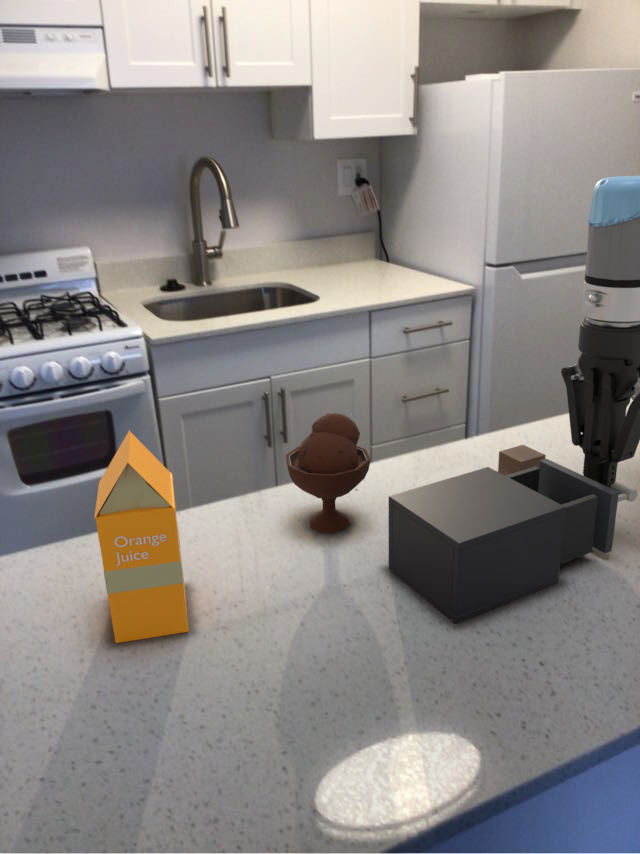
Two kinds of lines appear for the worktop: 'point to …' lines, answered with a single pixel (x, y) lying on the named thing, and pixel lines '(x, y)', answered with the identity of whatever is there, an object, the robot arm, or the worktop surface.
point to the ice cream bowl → (329, 467)
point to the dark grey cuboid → (475, 541)
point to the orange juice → (140, 545)
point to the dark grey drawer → (578, 506)
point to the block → (518, 459)
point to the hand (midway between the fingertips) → (596, 504)
